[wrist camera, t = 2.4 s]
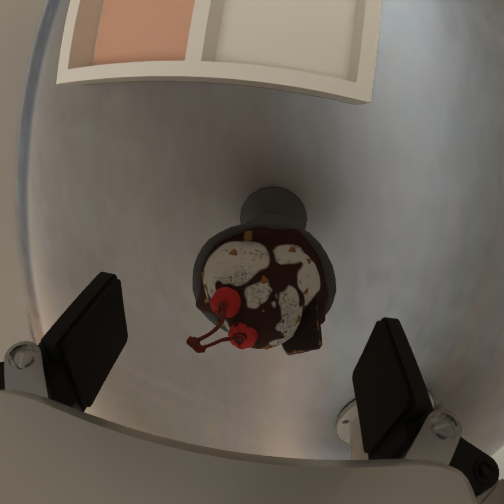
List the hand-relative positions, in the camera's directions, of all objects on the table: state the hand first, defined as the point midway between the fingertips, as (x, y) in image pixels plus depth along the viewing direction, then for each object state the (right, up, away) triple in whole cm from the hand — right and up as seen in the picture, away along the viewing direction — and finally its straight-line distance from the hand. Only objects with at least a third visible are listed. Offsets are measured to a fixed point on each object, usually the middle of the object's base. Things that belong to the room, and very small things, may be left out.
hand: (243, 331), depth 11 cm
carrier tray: (-2, +20, +6) cm, 21 cm away
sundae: (+2, +5, +13) cm, 14 cm away
